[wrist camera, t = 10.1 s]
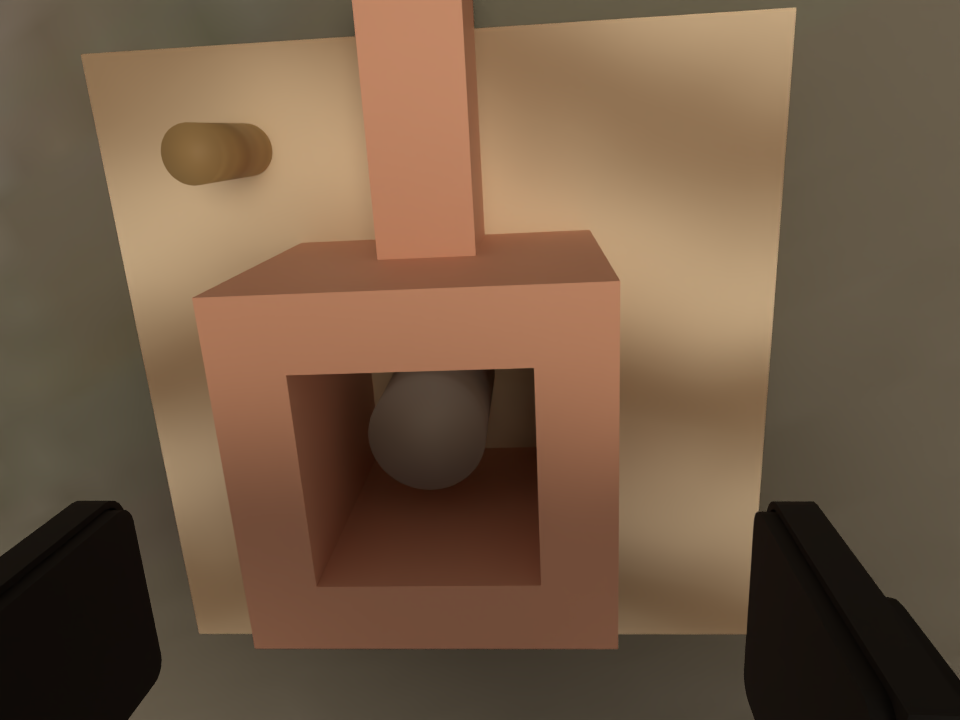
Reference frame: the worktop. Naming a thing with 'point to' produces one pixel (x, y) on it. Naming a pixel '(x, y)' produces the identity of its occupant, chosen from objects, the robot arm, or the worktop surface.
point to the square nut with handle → (409, 348)
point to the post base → (507, 209)
